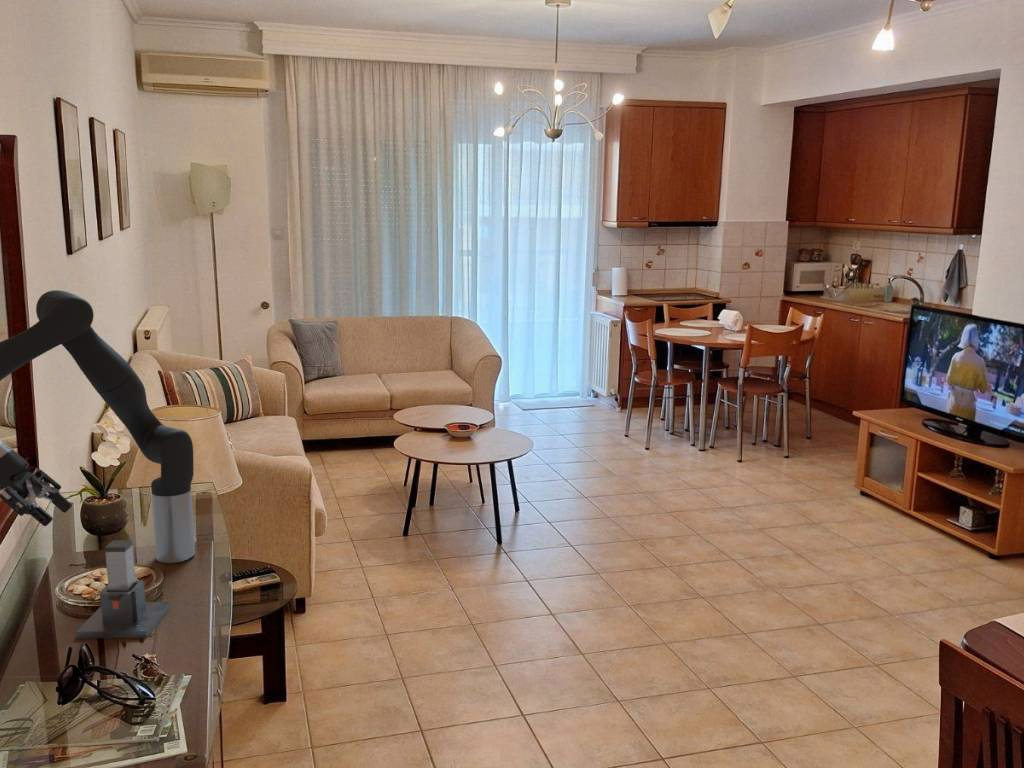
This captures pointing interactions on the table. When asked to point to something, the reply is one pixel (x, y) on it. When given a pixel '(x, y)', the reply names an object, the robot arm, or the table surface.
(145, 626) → the stand
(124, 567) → the post
